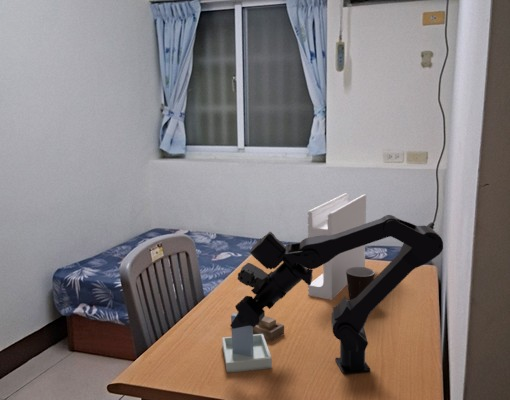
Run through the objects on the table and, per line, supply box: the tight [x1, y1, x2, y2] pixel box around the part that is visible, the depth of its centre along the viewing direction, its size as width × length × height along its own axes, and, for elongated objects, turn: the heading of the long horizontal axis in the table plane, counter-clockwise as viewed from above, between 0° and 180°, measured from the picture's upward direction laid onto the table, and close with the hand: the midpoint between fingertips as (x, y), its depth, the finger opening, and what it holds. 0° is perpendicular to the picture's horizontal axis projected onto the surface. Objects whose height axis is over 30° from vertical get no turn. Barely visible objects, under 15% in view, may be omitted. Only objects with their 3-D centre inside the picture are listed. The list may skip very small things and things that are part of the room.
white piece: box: [307, 192, 367, 301], centre depth 164 cm, size 35×8×28 cm, turn 150°
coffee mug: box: [346, 266, 376, 301], centre depth 145 cm, size 12×9×10 cm
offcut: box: [259, 315, 277, 330], centre depth 127 cm, size 4×3×2 cm
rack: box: [253, 322, 285, 342], centre depth 130 cm, size 15×5×2 cm, turn 49°
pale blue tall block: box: [230, 312, 254, 357], centre depth 116 cm, size 5×2×10 cm, turn 68°
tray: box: [221, 334, 273, 374], centre depth 116 cm, size 13×11×2 cm
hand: (239, 318), depth 115 cm, fingers open, 9 cm apart
